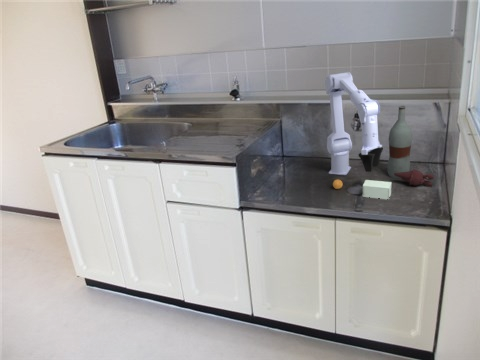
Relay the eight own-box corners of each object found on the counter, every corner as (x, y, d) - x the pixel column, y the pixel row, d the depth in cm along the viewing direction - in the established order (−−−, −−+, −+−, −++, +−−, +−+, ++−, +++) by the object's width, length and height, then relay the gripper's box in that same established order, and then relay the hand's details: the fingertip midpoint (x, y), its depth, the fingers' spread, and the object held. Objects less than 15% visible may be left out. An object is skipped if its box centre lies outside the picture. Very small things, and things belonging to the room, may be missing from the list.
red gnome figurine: (392, 172, 160) (432, 180, 153) (396, 161, 165) (436, 168, 157) (390, 185, 164) (430, 193, 157) (395, 175, 169) (433, 182, 162)
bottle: (413, 178, 168) (418, 107, 156) (391, 180, 168) (394, 110, 156) (405, 169, 176) (409, 102, 165) (384, 171, 177) (386, 105, 165)
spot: (349, 186, 167) (349, 185, 167) (366, 187, 164) (366, 187, 164) (345, 193, 161) (345, 192, 161) (362, 195, 158) (363, 194, 158)
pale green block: (365, 190, 162) (365, 179, 160) (391, 193, 157) (391, 182, 155) (362, 196, 157) (362, 185, 155) (388, 199, 152) (389, 188, 151)
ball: (334, 186, 169) (334, 177, 167) (343, 187, 167) (343, 178, 165) (331, 190, 165) (331, 181, 164) (341, 191, 163) (341, 182, 162)
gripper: (374, 137, 141) (376, 174, 145) (387, 129, 152) (388, 164, 156) (354, 137, 146) (357, 173, 149) (368, 130, 157) (370, 164, 160)
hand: (372, 168), depth 153 cm, fingers open, 7 cm apart
